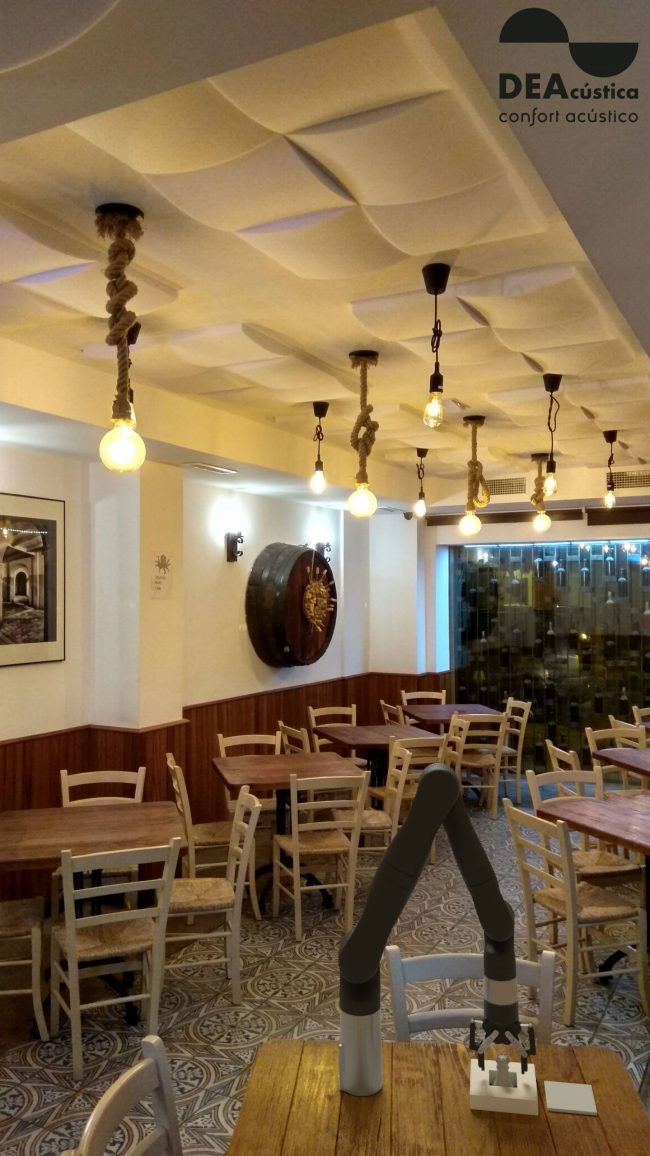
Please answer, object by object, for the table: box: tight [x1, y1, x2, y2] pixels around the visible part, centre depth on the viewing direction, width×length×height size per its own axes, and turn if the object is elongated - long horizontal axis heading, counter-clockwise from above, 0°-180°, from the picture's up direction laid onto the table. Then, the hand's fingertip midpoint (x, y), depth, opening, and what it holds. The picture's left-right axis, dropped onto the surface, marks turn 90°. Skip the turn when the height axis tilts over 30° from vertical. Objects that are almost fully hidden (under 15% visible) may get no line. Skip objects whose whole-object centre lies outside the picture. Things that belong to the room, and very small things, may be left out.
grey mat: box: [543, 1080, 598, 1116], centre depth 176 cm, size 10×10×1 cm
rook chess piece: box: [492, 1052, 514, 1088], centre depth 179 cm, size 4×4×8 cm
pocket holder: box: [469, 1058, 539, 1116], centre depth 179 cm, size 14×14×3 cm
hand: (503, 1070), depth 179 cm, fingers open, 8 cm apart
